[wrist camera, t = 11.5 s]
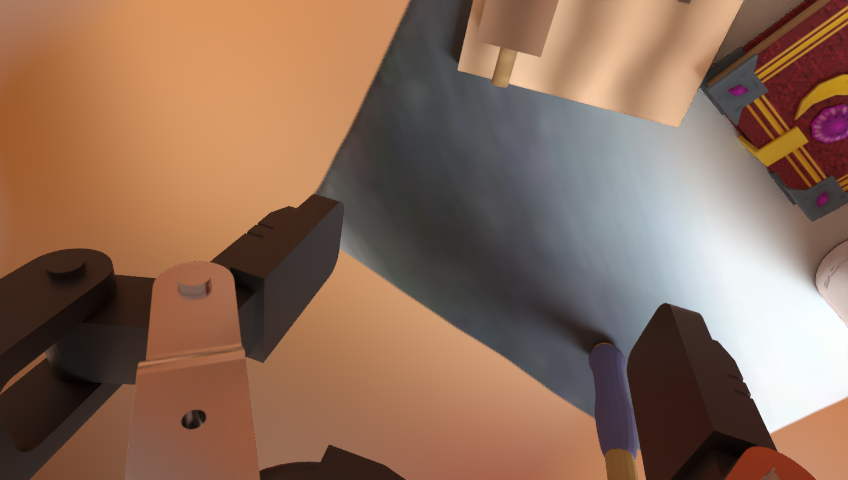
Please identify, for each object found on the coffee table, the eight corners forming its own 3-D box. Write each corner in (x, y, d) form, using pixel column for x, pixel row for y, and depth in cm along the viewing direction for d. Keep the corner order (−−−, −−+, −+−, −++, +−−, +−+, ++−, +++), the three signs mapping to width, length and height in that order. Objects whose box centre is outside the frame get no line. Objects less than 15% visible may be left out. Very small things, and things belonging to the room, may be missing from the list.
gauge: (572, -48, 35) (575, -53, 30) (531, 82, 41) (528, 97, 35) (509, -62, 36) (502, -69, 31) (477, 68, 41) (466, 81, 36)
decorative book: (839, -31, 34) (880, -32, 30) (945, 127, 37) (996, 146, 33) (692, 80, 39) (708, 92, 35) (794, 209, 43) (821, 234, 38)
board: (741, -15, 35) (752, -15, 33) (673, 121, 41) (679, 128, 39) (492, -71, 37) (489, -74, 35) (461, 66, 43) (456, 70, 41)
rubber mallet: (552, 322, 55) (551, 614, 30) (612, 302, 52) (669, 610, 26) (598, 392, 59) (632, 704, 34) (658, 377, 55) (745, 712, 30)
